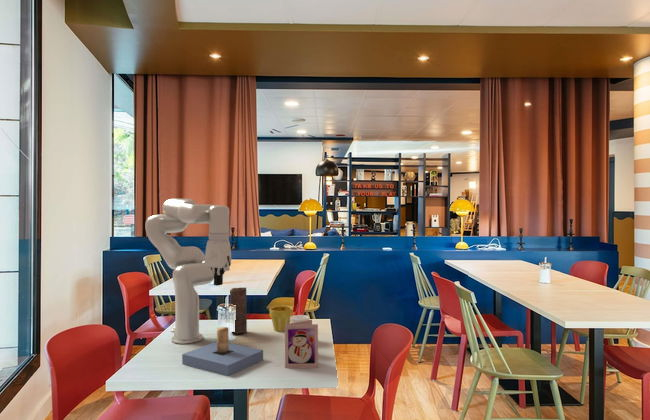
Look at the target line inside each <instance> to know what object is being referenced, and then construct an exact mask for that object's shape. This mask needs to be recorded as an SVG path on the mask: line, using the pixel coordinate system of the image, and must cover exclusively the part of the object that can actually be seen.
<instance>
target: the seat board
mask: <svg viewBox="0 0 650 420" xmlns="http://www.w3.org/2000/svg"><path fill="white" fill-rule="evenodd" d="M181 356H182V358H181V359H182V361H181V363H182V365H185V366H189V367H192V368H196V369H200V370H205V371H207V372H212V373H215V374H219V375H224V376H227V377H229V376H231V375H234V374H235V373H237V372H240V371H242V370H244V369H247V368H248V367H250V366H251V367H252V366H253V365H255V364H257V363H259V362H261V361H263V360H264V350H263V349H259V348H256V347H255V348H254V347H249V346H246V345H240V344H237V343H236V344H235V343H230V342H229V354H226V355H224V356H223V355H218V354H217V341H214V342H212V343H209V344H206V345H203V346H201V347H198V348H196V349H191V350H190V351H187V352H184V353H182V354H181Z"/></svg>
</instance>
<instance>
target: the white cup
mask: <svg viewBox="0 0 650 420" xmlns="http://www.w3.org/2000/svg"><path fill="white" fill-rule="evenodd" d="M307 320H310V317H309V315H305V314H295V315H292V316H291V317H290V324H291V323H296V322H301V321H307Z"/></svg>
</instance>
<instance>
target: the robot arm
mask: <svg viewBox="0 0 650 420" xmlns="http://www.w3.org/2000/svg"><path fill="white" fill-rule="evenodd" d="M161 208H162V209H161V210H162V212H163V214H162V213H161V214H160V213H159V214H154V215H152V216H151V215H150V216H149V217H147V218H146V221H145V224H144V225H145V227H144V228H145V232H146V233H145V234H146V235H147V236H146V237H148V240H149V241H150V243H151V244H152V245H153V246H154V247H155V248H156V249H157V250H158V252H159V253H160V255H161V257H162V258H163V260H164V261H165V263H166V265H167V266H168V267H169V268H170V269H172V281H173V288H174V298H175V299H174V300H175V301H174V303H175V304H174V305H175V308H174V309H175V314H174V315H175V316H174V317H175V325H174V327H173V328H172V329H171V330H170V332H171V333H173V336H172V337H171V341H172V342H173V343H174V344H178V345H179V344H180V345H182V344H185V345H186V344H193V343H198V342H199V341H202V340H203V339H204V335H203V334H202V333H200V296H199V293H198V292H197V291H196V289H195V287H197V286H205V285H208V284H210V283H212V282H213V286H222V285H223V282H224V275H225V273H226V272H229V271H230V266H231V265H232V248H231V244H230V243H231V242H230V208H229V207H228V206H227V205H218V204H202V203H201V204H197V203H196V202H195V200H193V199H191V198H174V197H173V198H170V199H167V200H166V201H164V203H163V204H162V207H161ZM190 224H193V225H199V224H201V225H203V224H208V240H207V242H206V246H205V253H204V252H203V251H202V250H201V249H200V248H199V247H197V246H190V245H189V246H181V245H180V243H178V241H177V240H176V239H175V238H174V237H173V236H171V235H170V234H171V233H172V234H174V233H181V232H183V231H185V230H186V229H187V228H188V226H189V225H190Z"/></svg>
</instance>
